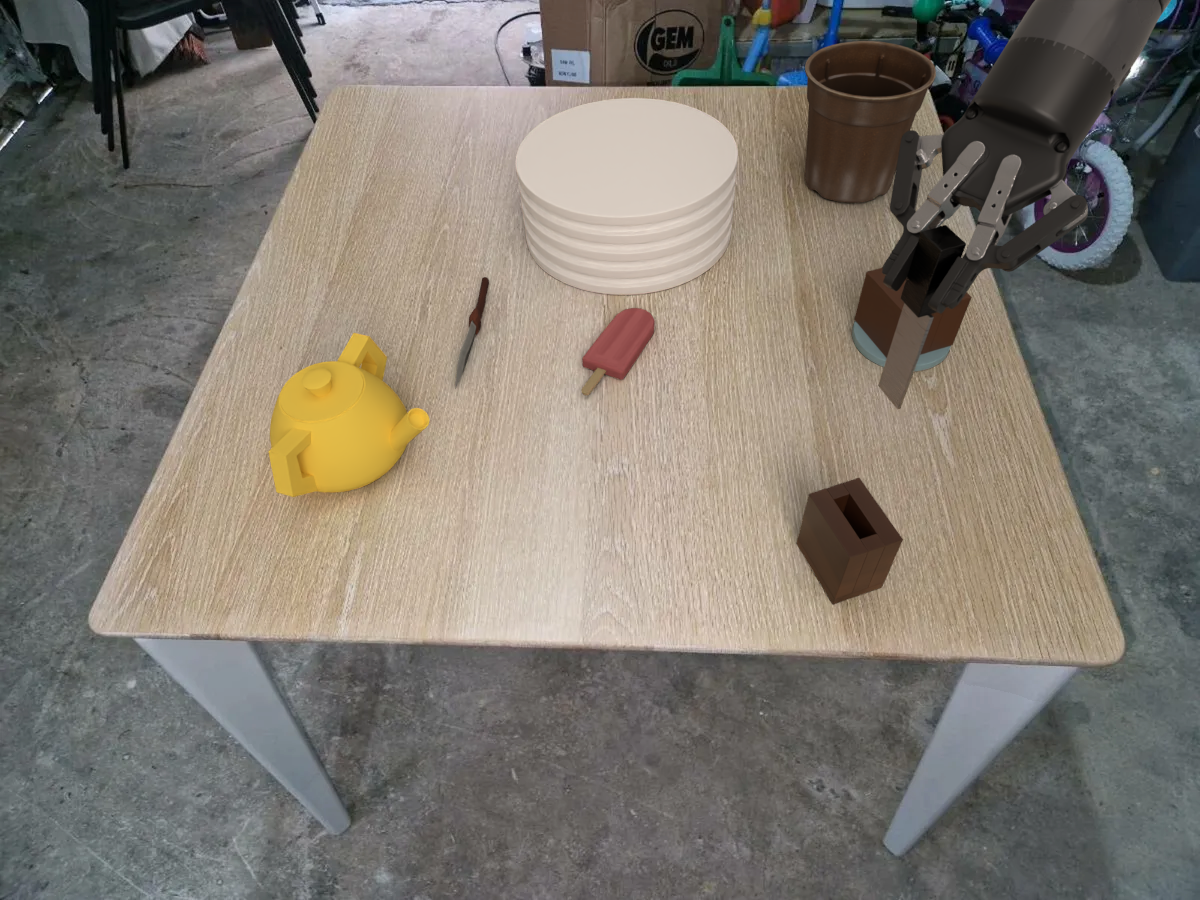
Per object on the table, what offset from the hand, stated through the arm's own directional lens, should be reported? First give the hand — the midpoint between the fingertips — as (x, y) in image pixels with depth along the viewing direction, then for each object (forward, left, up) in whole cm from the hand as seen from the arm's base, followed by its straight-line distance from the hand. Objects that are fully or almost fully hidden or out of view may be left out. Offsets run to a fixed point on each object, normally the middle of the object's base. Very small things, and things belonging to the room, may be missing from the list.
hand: (912, 297), depth 57 cm
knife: (+28, -38, -27) cm, 55 cm away
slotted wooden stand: (-19, -20, -27) cm, 38 cm away
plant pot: (-30, -51, -27) cm, 65 cm away
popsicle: (+13, -29, -27) cm, 42 cm away
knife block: (+3, +5, -27) cm, 28 cm away
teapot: (+43, -25, -27) cm, 57 cm away
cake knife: (-2, -1, -12) cm, 12 cm away
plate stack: (+3, -52, -27) cm, 59 cm away
